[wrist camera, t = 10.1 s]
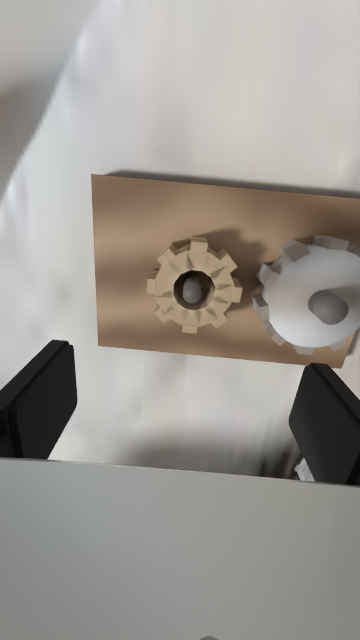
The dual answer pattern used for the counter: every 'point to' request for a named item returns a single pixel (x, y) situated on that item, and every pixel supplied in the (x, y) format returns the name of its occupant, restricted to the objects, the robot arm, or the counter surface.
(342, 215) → the gear board
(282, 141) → the counter surface
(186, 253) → the wooden gear
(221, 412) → the counter surface
